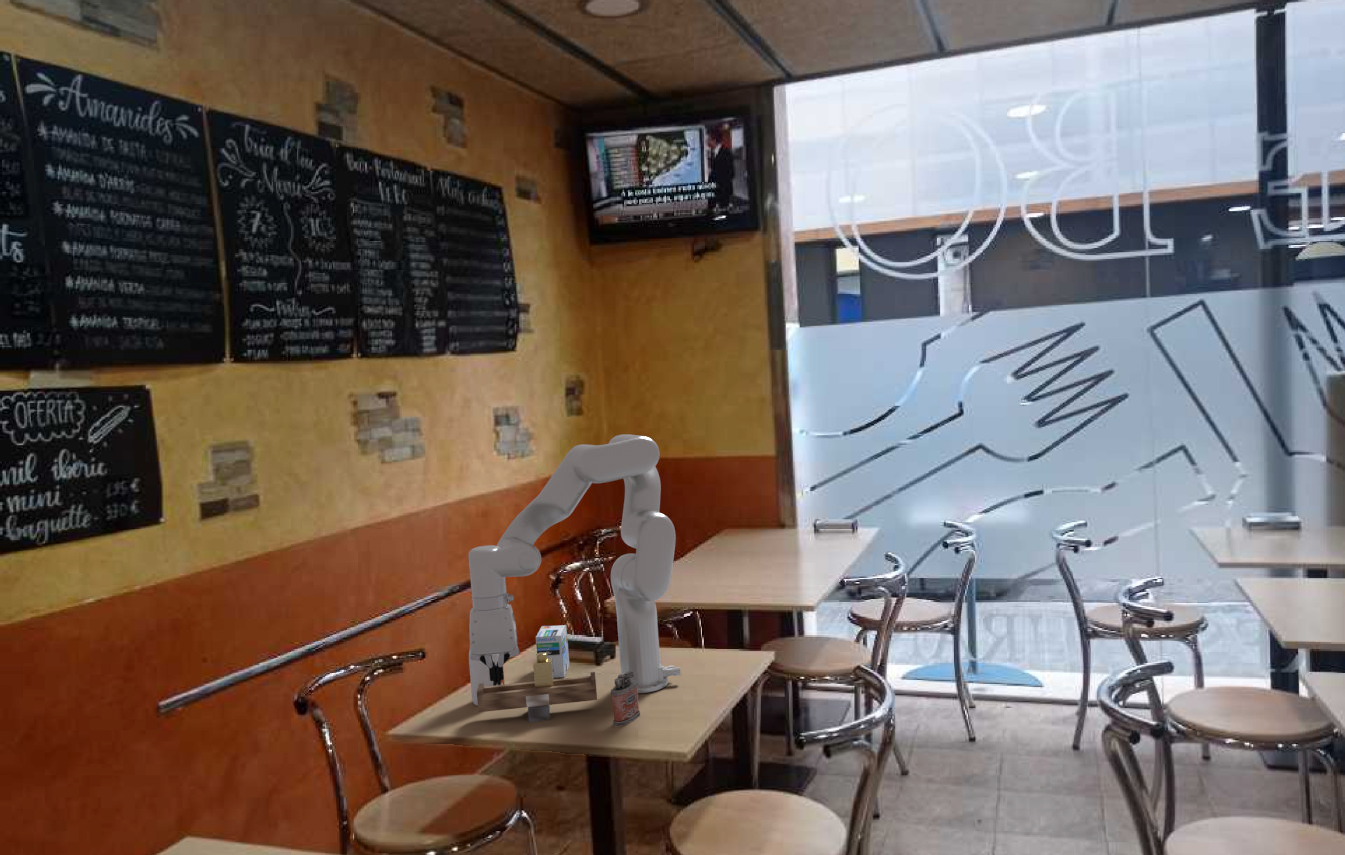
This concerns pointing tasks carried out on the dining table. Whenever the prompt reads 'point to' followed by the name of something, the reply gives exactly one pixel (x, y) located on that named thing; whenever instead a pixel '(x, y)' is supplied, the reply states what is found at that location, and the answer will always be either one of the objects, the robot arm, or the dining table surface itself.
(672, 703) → the dining table surface
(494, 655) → the milk bottle
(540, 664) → the rider
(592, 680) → the beam
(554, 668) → the light bulb box
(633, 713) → the lighter
